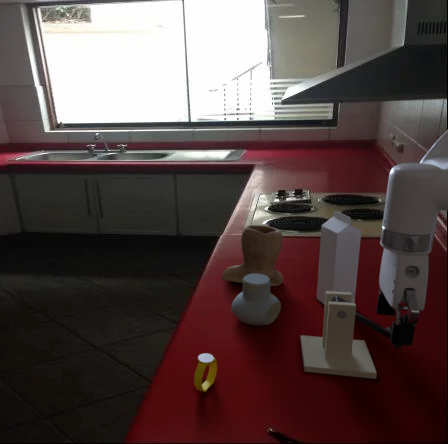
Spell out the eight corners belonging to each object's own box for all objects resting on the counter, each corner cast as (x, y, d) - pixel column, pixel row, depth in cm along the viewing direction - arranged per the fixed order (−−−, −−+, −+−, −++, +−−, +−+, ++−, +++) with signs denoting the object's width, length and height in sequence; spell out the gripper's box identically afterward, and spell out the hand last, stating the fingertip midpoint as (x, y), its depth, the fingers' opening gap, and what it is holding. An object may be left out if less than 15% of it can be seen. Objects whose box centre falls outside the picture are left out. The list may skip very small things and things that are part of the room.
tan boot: (285, 273, 115) (287, 222, 110) (280, 293, 105) (282, 237, 100) (231, 268, 121) (230, 218, 116) (221, 286, 110) (220, 232, 106)
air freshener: (260, 336, 87) (260, 293, 84) (226, 323, 93) (226, 282, 90) (284, 314, 95) (286, 274, 92) (252, 303, 100) (253, 265, 97)
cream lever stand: (364, 345, 82) (370, 287, 78) (376, 378, 73) (384, 314, 69) (300, 340, 85) (303, 283, 81) (304, 371, 76) (307, 309, 72)
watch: (205, 399, 71) (204, 370, 69) (190, 394, 72) (189, 365, 70) (221, 379, 75) (220, 351, 73) (207, 374, 77) (206, 346, 75)
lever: (389, 336, 78) (398, 327, 77) (397, 352, 73) (406, 342, 72) (327, 301, 79) (334, 291, 78) (330, 314, 74) (338, 304, 73)
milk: (338, 295, 102) (345, 208, 95) (354, 306, 96) (363, 215, 90) (315, 299, 101) (322, 211, 94) (331, 311, 95) (338, 219, 89)
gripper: (453, 260, 61) (434, 360, 66) (414, 223, 76) (401, 306, 82) (396, 257, 62) (382, 354, 68) (370, 221, 78) (360, 303, 83)
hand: (392, 328), depth 75 cm, fingers open, 9 cm apart
